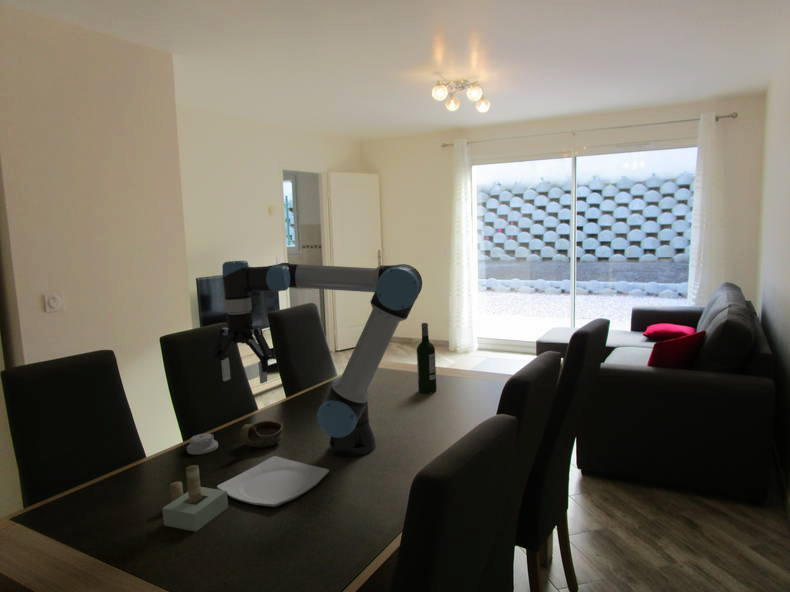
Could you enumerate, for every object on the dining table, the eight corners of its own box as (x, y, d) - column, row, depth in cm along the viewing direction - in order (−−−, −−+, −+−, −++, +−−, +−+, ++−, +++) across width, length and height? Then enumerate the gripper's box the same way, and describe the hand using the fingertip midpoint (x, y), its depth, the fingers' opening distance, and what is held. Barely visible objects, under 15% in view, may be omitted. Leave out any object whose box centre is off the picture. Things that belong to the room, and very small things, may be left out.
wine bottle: (437, 393, 229) (434, 324, 226) (418, 393, 229) (415, 325, 226) (436, 387, 237) (433, 321, 234) (418, 388, 237) (415, 322, 234)
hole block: (228, 507, 140) (226, 490, 139) (195, 531, 129) (194, 514, 128) (198, 501, 144) (196, 486, 143) (164, 525, 133) (162, 508, 132)
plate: (275, 517, 134) (274, 507, 134) (210, 496, 147) (210, 487, 147) (335, 477, 155) (335, 468, 155) (274, 461, 168) (274, 453, 168)
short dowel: (186, 503, 143) (184, 482, 142) (178, 509, 140) (176, 487, 140) (177, 501, 144) (175, 480, 144) (169, 507, 142) (167, 486, 141)
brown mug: (293, 439, 185) (290, 411, 184) (260, 459, 169) (257, 429, 168) (261, 435, 191) (259, 408, 190) (227, 454, 175) (224, 425, 174)
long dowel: (205, 514, 137) (201, 465, 136) (197, 520, 134) (192, 470, 133) (196, 512, 138) (191, 464, 137) (188, 518, 135) (183, 469, 134)
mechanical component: (181, 455, 177) (208, 455, 175) (179, 442, 176) (207, 443, 174) (197, 443, 187) (223, 443, 185) (196, 431, 186) (222, 431, 184)
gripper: (281, 310, 159) (286, 379, 162) (214, 310, 168) (220, 375, 171) (266, 314, 152) (272, 386, 155) (197, 314, 161) (203, 382, 164)
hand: (245, 381), depth 163 cm, fingers open, 13 cm apart
